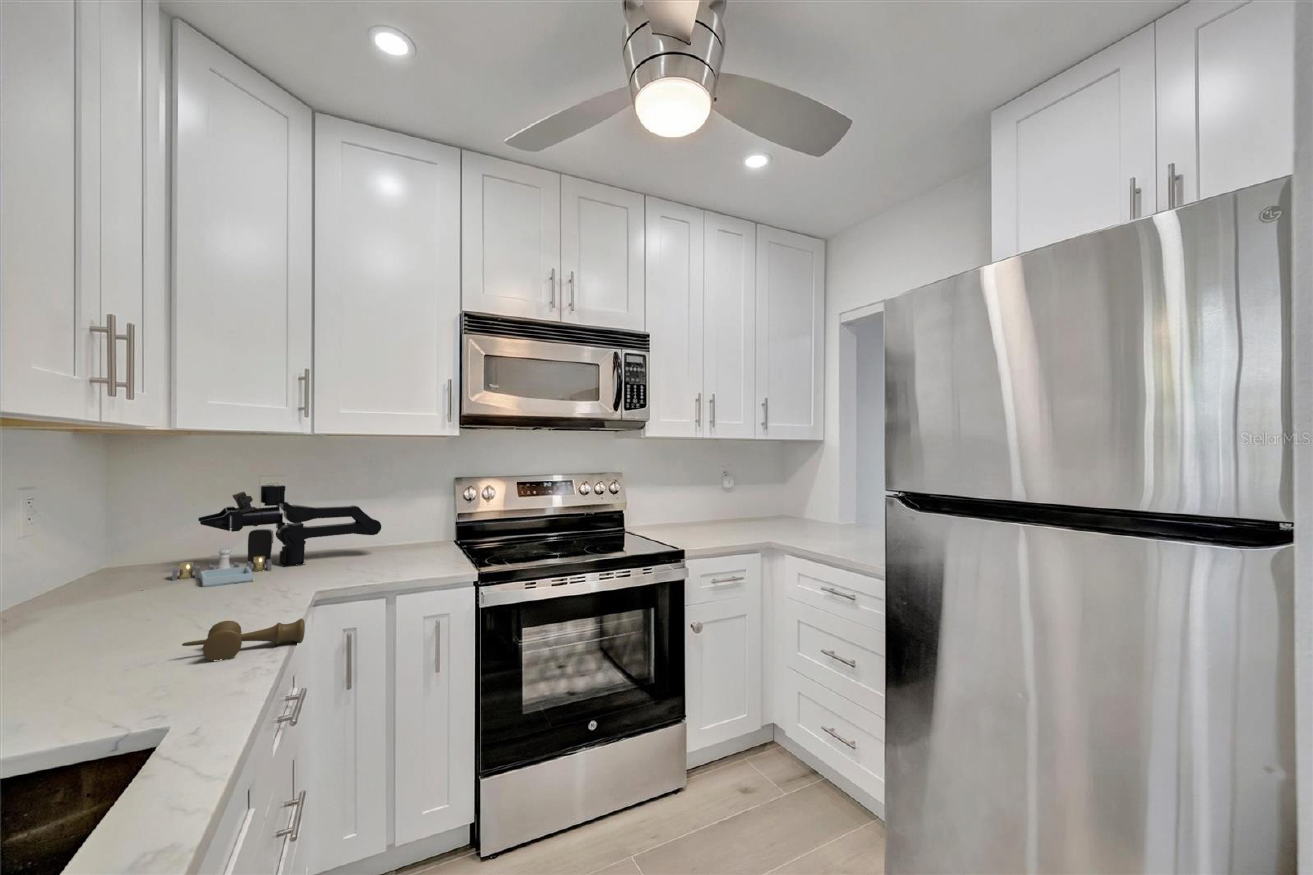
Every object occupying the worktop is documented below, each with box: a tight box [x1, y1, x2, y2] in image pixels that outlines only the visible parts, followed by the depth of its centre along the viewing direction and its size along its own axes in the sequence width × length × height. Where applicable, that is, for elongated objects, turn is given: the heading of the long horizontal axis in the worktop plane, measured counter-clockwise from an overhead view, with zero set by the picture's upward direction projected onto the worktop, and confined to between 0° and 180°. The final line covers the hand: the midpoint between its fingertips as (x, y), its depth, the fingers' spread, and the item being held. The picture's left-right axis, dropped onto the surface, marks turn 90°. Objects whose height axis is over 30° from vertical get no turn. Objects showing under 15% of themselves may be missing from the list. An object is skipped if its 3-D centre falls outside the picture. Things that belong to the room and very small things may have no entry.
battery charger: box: [246, 528, 274, 564], centre depth 189 cm, size 7×4×11 cm, turn 113°
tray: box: [200, 566, 254, 588], centre depth 163 cm, size 12×12×2 cm
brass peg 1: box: [178, 561, 194, 580], centre depth 165 cm, size 3×3×4 cm
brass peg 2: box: [252, 556, 266, 573], centre depth 177 cm, size 3×3×4 cm
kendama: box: [181, 618, 306, 662], centre depth 111 cm, size 6×10×20 cm
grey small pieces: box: [171, 559, 273, 581], centre depth 171 cm, size 24×4×3 cm, turn 133°
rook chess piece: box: [215, 547, 233, 570], centre depth 171 cm, size 4×4×8 cm
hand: (199, 521), depth 170 cm, fingers open, 9 cm apart
